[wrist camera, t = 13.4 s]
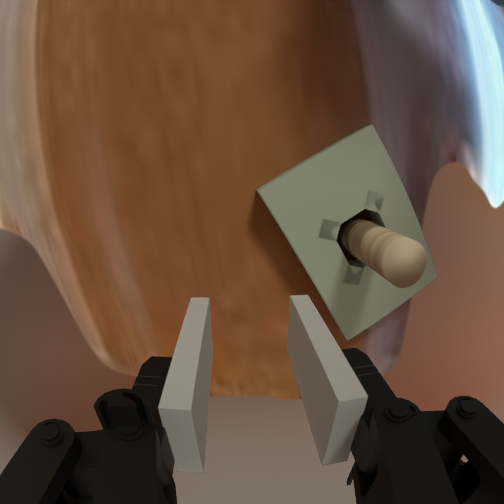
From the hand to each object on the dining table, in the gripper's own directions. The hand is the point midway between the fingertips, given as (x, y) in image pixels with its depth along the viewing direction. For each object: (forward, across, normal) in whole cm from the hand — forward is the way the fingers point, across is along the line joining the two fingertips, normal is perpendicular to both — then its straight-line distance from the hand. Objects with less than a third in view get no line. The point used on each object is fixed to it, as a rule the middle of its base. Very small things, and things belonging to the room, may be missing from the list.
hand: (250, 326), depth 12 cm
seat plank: (+21, +13, 0) cm, 24 cm away
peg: (+21, +13, 0) cm, 24 cm away
